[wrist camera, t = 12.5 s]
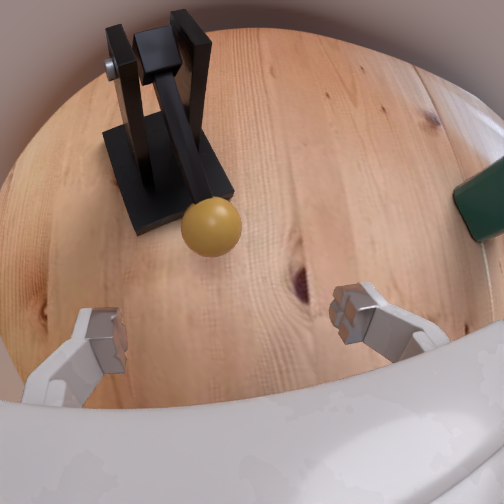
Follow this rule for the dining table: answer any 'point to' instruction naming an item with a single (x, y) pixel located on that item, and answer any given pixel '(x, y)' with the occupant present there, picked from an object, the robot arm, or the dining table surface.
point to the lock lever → (185, 147)
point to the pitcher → (483, 202)
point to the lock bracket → (159, 130)
